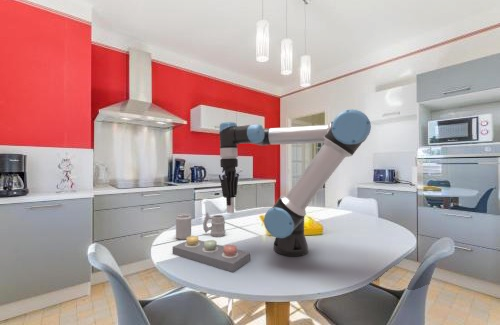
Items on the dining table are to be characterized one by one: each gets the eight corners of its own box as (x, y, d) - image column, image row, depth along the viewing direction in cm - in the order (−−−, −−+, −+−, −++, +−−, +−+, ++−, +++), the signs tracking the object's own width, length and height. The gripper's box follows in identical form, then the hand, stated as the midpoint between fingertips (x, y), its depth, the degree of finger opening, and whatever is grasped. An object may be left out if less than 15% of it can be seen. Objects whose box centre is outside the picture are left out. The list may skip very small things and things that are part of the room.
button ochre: (200, 241, 103) (200, 237, 103) (192, 245, 99) (192, 240, 99) (192, 239, 105) (192, 235, 105) (183, 243, 101) (184, 238, 101)
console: (250, 260, 94) (250, 252, 94) (232, 272, 84) (232, 263, 84) (193, 245, 110) (193, 238, 110) (172, 253, 100) (172, 246, 100)
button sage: (218, 246, 98) (219, 241, 98) (211, 250, 93) (211, 245, 93) (209, 244, 100) (209, 239, 100) (201, 247, 96) (201, 242, 96)
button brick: (239, 251, 92) (239, 246, 92) (231, 255, 88) (231, 250, 88) (228, 248, 95) (228, 243, 95) (221, 252, 91) (221, 247, 91)
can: (183, 241, 115) (183, 216, 115) (172, 238, 119) (172, 214, 119) (194, 237, 121) (194, 213, 121) (184, 234, 125) (184, 211, 125)
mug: (224, 237, 122) (225, 214, 122) (201, 237, 121) (201, 213, 121) (225, 232, 129) (226, 210, 129) (204, 232, 129) (204, 210, 129)
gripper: (229, 158, 110) (231, 209, 110) (212, 158, 99) (214, 215, 99) (243, 158, 107) (245, 210, 107) (228, 157, 95) (229, 216, 95)
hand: (230, 212), depth 103 cm, fingers closed
